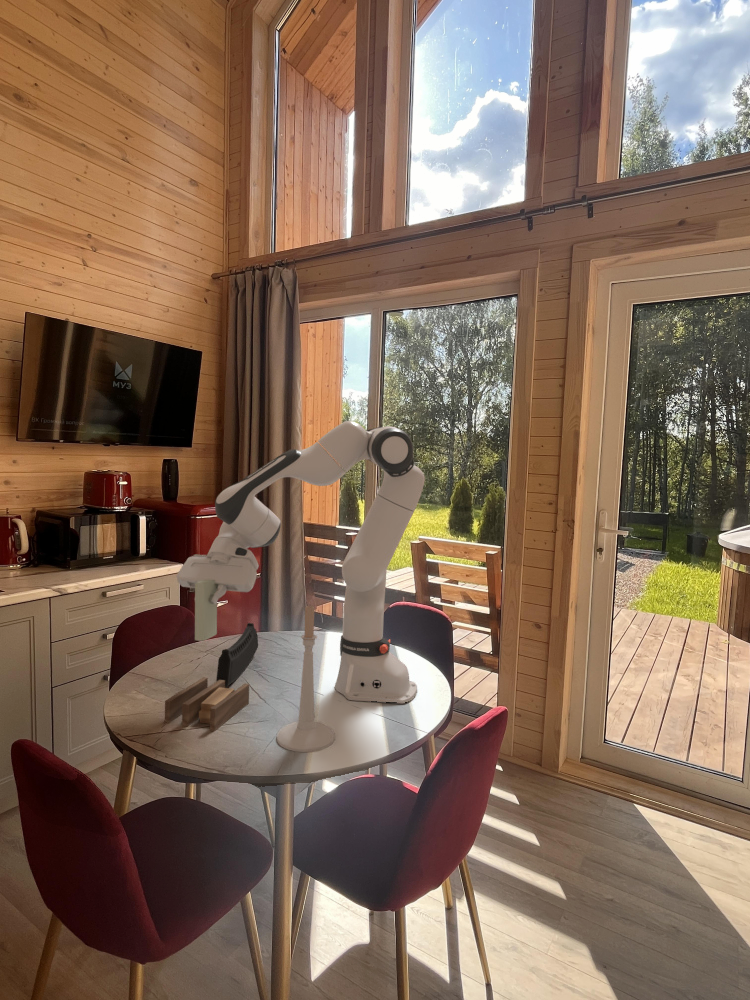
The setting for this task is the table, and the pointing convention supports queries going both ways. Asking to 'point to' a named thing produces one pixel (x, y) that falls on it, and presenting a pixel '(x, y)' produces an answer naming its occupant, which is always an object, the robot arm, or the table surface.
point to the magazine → (237, 656)
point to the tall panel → (205, 610)
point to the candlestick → (306, 704)
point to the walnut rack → (196, 693)
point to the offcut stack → (212, 703)
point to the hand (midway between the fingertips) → (204, 602)
